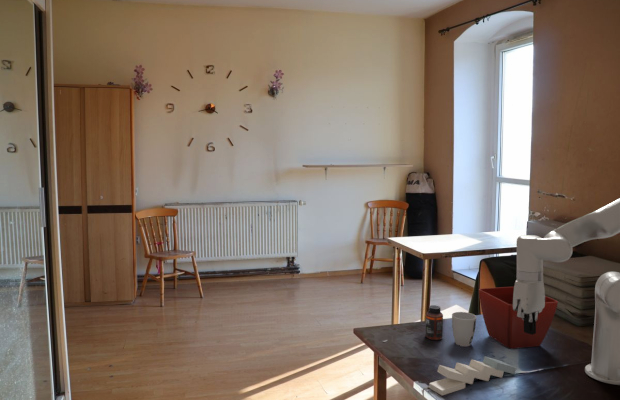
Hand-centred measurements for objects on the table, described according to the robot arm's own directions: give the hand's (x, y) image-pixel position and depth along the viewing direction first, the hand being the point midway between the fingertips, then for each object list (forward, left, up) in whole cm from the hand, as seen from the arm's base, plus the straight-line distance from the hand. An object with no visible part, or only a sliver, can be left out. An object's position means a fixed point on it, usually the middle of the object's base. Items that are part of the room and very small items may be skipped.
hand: (529, 332), depth 159 cm
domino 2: (+1, +29, -10) cm, 31 cm away
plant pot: (+15, -13, -11) cm, 23 cm away
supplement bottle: (+31, +10, -11) cm, 35 cm away
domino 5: (0, +9, -10) cm, 13 cm away
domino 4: (0, +14, -10) cm, 17 cm away
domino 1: (+1, +26, -9) cm, 27 cm away
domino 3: (+1, +20, -10) cm, 22 cm away
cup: (+22, +5, -11) cm, 25 cm away
